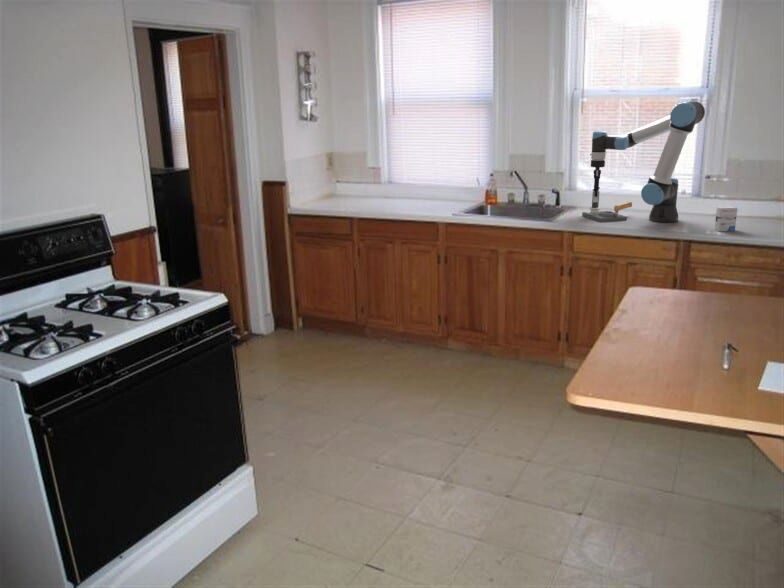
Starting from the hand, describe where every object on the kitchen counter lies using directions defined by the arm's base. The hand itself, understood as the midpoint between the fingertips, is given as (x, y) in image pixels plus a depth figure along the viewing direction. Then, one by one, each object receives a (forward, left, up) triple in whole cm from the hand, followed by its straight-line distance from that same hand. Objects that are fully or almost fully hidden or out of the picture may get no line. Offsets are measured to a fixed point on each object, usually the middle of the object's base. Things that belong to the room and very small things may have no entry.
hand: (595, 201), depth 399 cm
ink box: (-55, -42, -9) cm, 70 cm away
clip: (-9, -12, -3) cm, 15 cm away
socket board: (-5, -3, -9) cm, 11 cm away
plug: (0, 0, -7) cm, 7 cm away
